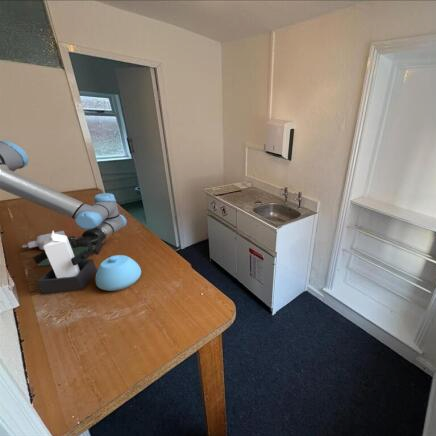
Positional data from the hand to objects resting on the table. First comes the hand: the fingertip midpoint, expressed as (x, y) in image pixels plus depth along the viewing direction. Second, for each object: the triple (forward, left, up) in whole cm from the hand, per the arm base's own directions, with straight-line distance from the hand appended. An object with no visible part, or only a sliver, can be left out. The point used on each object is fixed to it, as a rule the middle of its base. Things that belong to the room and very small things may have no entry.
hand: (54, 261), depth 85 cm
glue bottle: (-25, +35, -12) cm, 45 cm away
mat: (-10, +25, -12) cm, 30 cm away
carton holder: (+1, +3, -12) cm, 12 cm away
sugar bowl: (+19, 0, -12) cm, 22 cm away
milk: (+1, +3, -12) cm, 13 cm away
